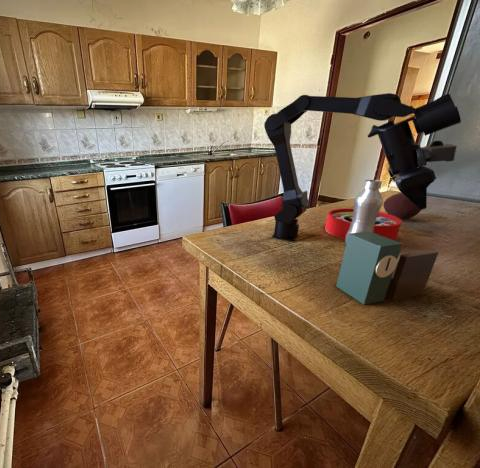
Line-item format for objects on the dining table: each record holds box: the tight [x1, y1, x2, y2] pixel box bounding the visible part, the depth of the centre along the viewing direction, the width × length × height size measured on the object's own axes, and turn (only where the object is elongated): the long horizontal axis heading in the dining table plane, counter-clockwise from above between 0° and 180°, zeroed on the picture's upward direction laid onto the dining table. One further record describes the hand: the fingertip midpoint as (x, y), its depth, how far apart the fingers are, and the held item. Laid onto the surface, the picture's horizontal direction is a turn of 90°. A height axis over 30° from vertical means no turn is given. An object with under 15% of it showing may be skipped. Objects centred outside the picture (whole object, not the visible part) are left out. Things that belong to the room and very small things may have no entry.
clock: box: [335, 231, 403, 305], centre depth 53 cm, size 8×5×13 cm, turn 12°
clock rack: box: [385, 249, 439, 301], centre depth 57 cm, size 10×8×10 cm
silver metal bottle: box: [344, 179, 384, 244], centre depth 73 cm, size 6×7×20 cm
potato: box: [382, 192, 422, 220], centre depth 98 cm, size 11×13×10 cm
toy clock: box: [324, 207, 403, 241], centre depth 87 cm, size 20×6×20 cm
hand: (419, 203), depth 64 cm, fingers open, 9 cm apart
